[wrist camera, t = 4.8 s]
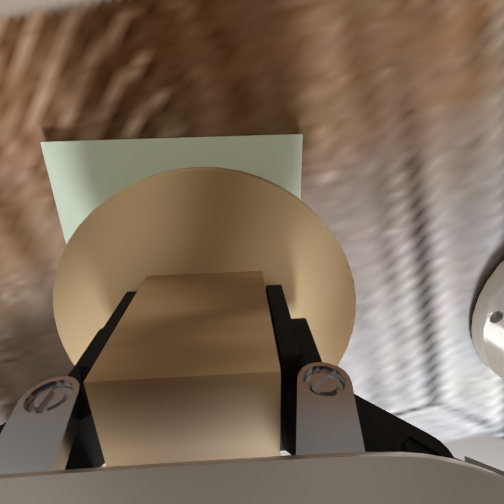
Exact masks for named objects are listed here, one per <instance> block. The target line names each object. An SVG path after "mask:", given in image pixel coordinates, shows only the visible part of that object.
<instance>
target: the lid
mask: <svg viewBox="0 0 504 504" xmlns="http://www.w3.org/2000/svg"><path fill="white" fill-rule="evenodd" d="M266 285H282V289H283V292H284V296H285V299H286V302H287V306H288V309H289V313H290V316H291V319H294V318H306V320H307V322H308V325H309V328H310V330H311V333H312V336H313V338H314V341H315V344H316V346H317V349H318V352H319V354H320V357H321V360H322V362H325V363H330V364H333V365H335V366H337V365H338V364H339V362H340V360H341V358H342V356H343V354H344V352H345V350H346V348H347V346H348V343H349V340H350V337H351V334H352V331H353V325H354V319H355V307H356V296H355V288H354V281H353V277H352V273H351V270H350V266H349V263H348V261H347V259H346V257H345V254H344V252H343V250H342V248H341V246H340V245H339V243H338V241H337V240H336V238H335V237H334V235H333V234H332V232H331V231H330V230H329V229H328V227H327V226H326V225H325V224H324V223H323V222H322V221H321V219H320V218H319V217H318V216H317V215H316V214H315V213H314V212H313V211H312V210H311V209H310V208H309V207H308V206H307V205H306V204H305V203H303V202H302V201H301V200H300V199H299V198H298V197H296V196H295V195H293V194H292V193H290V192H289V191H287V190H285V189H284V188H282V187H281V186H279V185H277V184H275V183H273V182H270V181H268V180H266V179H264V178H262V177H259V176H256V175H252V174H249V173H246V172H243V171H238V170H232V169H226V168H220V167H191V168H181V169H175V170H171V171H167V172H163V173H158V174H155V175H153V176H150V177H148V178H145V179H143V180H140V181H138V182H136V183H134V184H132V185H130V186H129V187H127V188H125V189H123V190H122V191H120V192H118V193H116V194H115V195H113V196H111V197H109V198H108V199H107V200H106V201H104V202H103V203H102V204H101V205H99V206H98V207H97V208H95V209H94V210H93V211H92V212H91V213H90V214H89V215H88V216H87V217H86V218H85V219H84V221H83V222H82V223H81V224H80V225H79V226H78V227H77V229H76V230H75V232H74V233H73V235H72V236H71V238H70V239H69V241H68V242H67V245H66V247H65V249H64V251H63V253H62V255H61V258H60V260H59V264H58V267H57V271H56V274H55V279H54V288H53V310H54V317H55V322H56V326H57V331H58V333H59V336H60V339H61V342H62V344H63V347H64V349H65V350H66V352H67V354H68V356H69V358H70V360H71V361H72V363H73V364H74V366H75V365H76V363H77V362H78V360H79V359H80V357H81V356H82V354H83V353H84V351H85V350H86V348H87V347H88V345H89V344H90V343H91V341H92V340H93V338H94V337H95V335H96V334H97V332H98V331H99V330H100V329H101V328H103V327H104V326H105V324H106V323H107V321H108V320H109V318H110V317H111V315H112V314H113V312H114V310H115V309H116V307H117V306H118V304H119V303H120V301H121V300H122V298H123V297H124V295H125V294H126V292H130V291H137V293H136V294H135V296H134V298H133V299H132V301H131V303H130V304H129V306H128V308H127V310H126V311H125V313H124V315H123V316H122V318H121V320H120V321H119V323H118V325H117V326H116V328H115V330H114V331H113V333H112V335H111V336H110V338H109V340H108V342H107V343H106V345H105V347H104V348H103V350H102V352H101V353H100V355H99V357H98V358H97V360H96V362H95V363H94V365H93V367H92V368H91V370H90V372H89V373H88V375H87V377H86V379H85V380H84V382H83V383H84V387H85V390H86V394H87V398H88V401H89V405H90V409H91V412H92V416H93V420H94V423H95V427H96V431H97V434H98V438H99V442H100V445H101V449H102V453H103V456H104V460H105V464H106V467H113V466H128V465H143V464H158V463H173V462H189V461H204V460H220V459H237V458H254V457H271V456H280V412H281V369H280V364H279V359H278V354H277V348H276V343H275V338H274V332H273V327H272V322H271V317H270V311H269V306H268V301H267V295H266V290H265V289H266Z"/></svg>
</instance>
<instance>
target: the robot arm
mask: <svg viewBox="0 0 504 504" xmlns="http://www.w3.org/2000/svg"><path fill="white" fill-rule="evenodd" d="M265 290H266V295H267V301H268V306H269V311H270V317H271V322H272V327H273V332H274V338H275V343H276V348H277V354H278V359H279V364H280V369H281V412H280V451H283V450H286V451H287V452H289V453H290V454H291V455H288V456H271V457H254V458H237V459H220V460H204V461H189V462H173V463H158V464H143V465H128V466H113V467H102V465H103V464H105V460H104V456H103V453H102V449H101V445H100V442H99V438H98V434H97V431H96V427H95V423H94V420H93V416H92V412H91V409H90V405H89V401H88V398H87V394H86V390H85V387H84V383H83V382H84V380H85V379H86V377H87V375H88V373H89V372H90V370H91V368H92V367H93V365H94V363H95V362H96V360H97V358H98V357H99V355H100V353H101V352H102V350H103V348H104V347H105V345H106V343H107V342H108V340H109V338H110V336H111V335H112V333H113V331H114V330H115V328H116V326H117V325H118V323H119V321H120V320H121V318H122V316H123V315H124V313H125V311H126V310H127V308H128V306H129V304H130V303H131V301H132V299H133V298H134V296H135V294H136V293H137V291H130V292H126V294H125V295H124V297H123V298H122V300H121V301H120V303H119V304H118V306H117V307H116V309H115V310H114V312H113V314H112V315H111V317H110V318H109V320H108V321H107V323H106V324H105V326H104V327H103V328H101V329H100V330H99V331H98V332H97V334H96V335H95V337H94V338H93V340H92V341H91V343H90V344H89V345H88V347H87V348H86V350H85V351H84V353H83V354H82V356H81V357H80V359H79V360H78V362H77V363H76V365H75V366H74V368H73V369H72V371H71V372H70V374H69V375H68V376H59V377H54V378H50V379H47V380H45V381H43V382H40V383H38V384H37V385H35V386H34V387H32V388H30V389H29V390H28V391H27V392H26V393H25V394H23V396H22V397H21V398H20V400H19V401H18V403H17V405H16V406H15V408H14V410H13V412H12V414H11V415H10V417H9V419H8V421H7V422H6V423H4V424H2V425H1V426H0V504H504V472H503V471H501V470H498V469H496V468H493V467H491V466H488V465H486V464H483V463H481V462H478V461H476V460H473V459H471V458H468V457H466V456H465V457H464V461H462V460H459V459H457V458H454V457H453V455H452V454H451V452H450V451H449V450H448V448H446V447H445V446H444V445H443V444H442V443H441V442H440V441H439V440H437V439H436V438H434V437H433V436H431V435H430V434H428V433H426V432H424V431H422V430H420V429H419V428H417V427H415V426H413V425H411V424H409V423H407V422H405V421H404V420H402V419H400V418H398V417H396V416H394V415H392V414H391V413H389V412H387V411H385V410H383V409H381V408H379V407H377V406H376V405H374V404H372V403H370V402H368V401H366V400H364V399H362V398H361V397H359V396H357V395H355V394H354V392H353V387H352V382H351V380H350V377H349V376H348V374H347V373H346V372H345V371H344V370H342V369H341V368H339V367H338V366H335V365H333V364H330V363H325V362H322V360H321V357H320V354H319V352H318V349H317V346H316V344H315V341H314V338H313V336H312V333H311V330H310V328H309V325H308V322H307V320H306V318H294V319H291V316H290V313H289V309H288V306H287V302H286V299H285V296H284V292H283V289H282V285H266V289H265ZM471 331H472V339H473V344H474V347H475V349H476V352H477V354H478V356H479V357H480V358H481V360H482V361H483V362H484V363H485V365H487V366H488V367H489V368H490V369H491V370H492V371H494V372H495V373H496V374H497V375H498V376H499V377H501V378H503V379H504V260H503V261H502V262H501V263H500V264H499V265H498V266H497V268H496V269H495V271H494V272H493V273H492V275H491V276H490V277H489V279H488V280H487V282H486V284H485V286H484V288H483V290H482V291H481V293H480V295H479V297H478V300H477V303H476V307H475V310H474V313H473V319H472V328H471Z"/></svg>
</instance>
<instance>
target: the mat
mask: <svg viewBox="0 0 504 504" xmlns="http://www.w3.org/2000/svg"><path fill="white" fill-rule="evenodd" d="M302 139H303V134H283V135H249V136H215V137H182V138H148V139H114V140H81V141H47V142H40V143H41V147H42V151H43V155H44V159H45V163H46V167H47V170H48V174H49V178H50V182H51V186H52V190H53V194H54V198H55V202H56V206H57V210H58V214H59V218H60V222H61V226H62V230H63V234H64V237H65V241H66V245H67V242H68V241H69V239H70V238H71V236H72V235H73V233H74V232H75V230H76V229H77V227H78V226H79V225H80V224H81V223H82V222H83V221H84V219H85V218H86V217H87V216H88V215H89V214H90V213H91V212H92V211H93V210H94V209H95V208H97V207H98V206H99V205H101V204H102V203H103V202H104V201H106V200H107V199H108V198H109V197H111V196H113V195H115V194H116V193H118V192H120V191H122V190H123V189H125V188H127V187H129V186H130V185H132V184H134V183H136V182H138V181H140V180H143V179H145V178H148V177H150V176H153V175H155V174H158V173H163V172H167V171H171V170H175V169H181V168H191V167H220V168H226V169H232V170H238V171H243V172H246V173H249V174H252V175H256V176H259V177H262V178H264V179H266V180H268V181H270V182H273V183H275V184H277V185H279V186H281V187H282V188H284V189H285V190H287V191H289V192H290V193H292V194H293V195H295V196H296V197H298V198H299V199H300V200H301V171H302Z"/></svg>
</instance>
